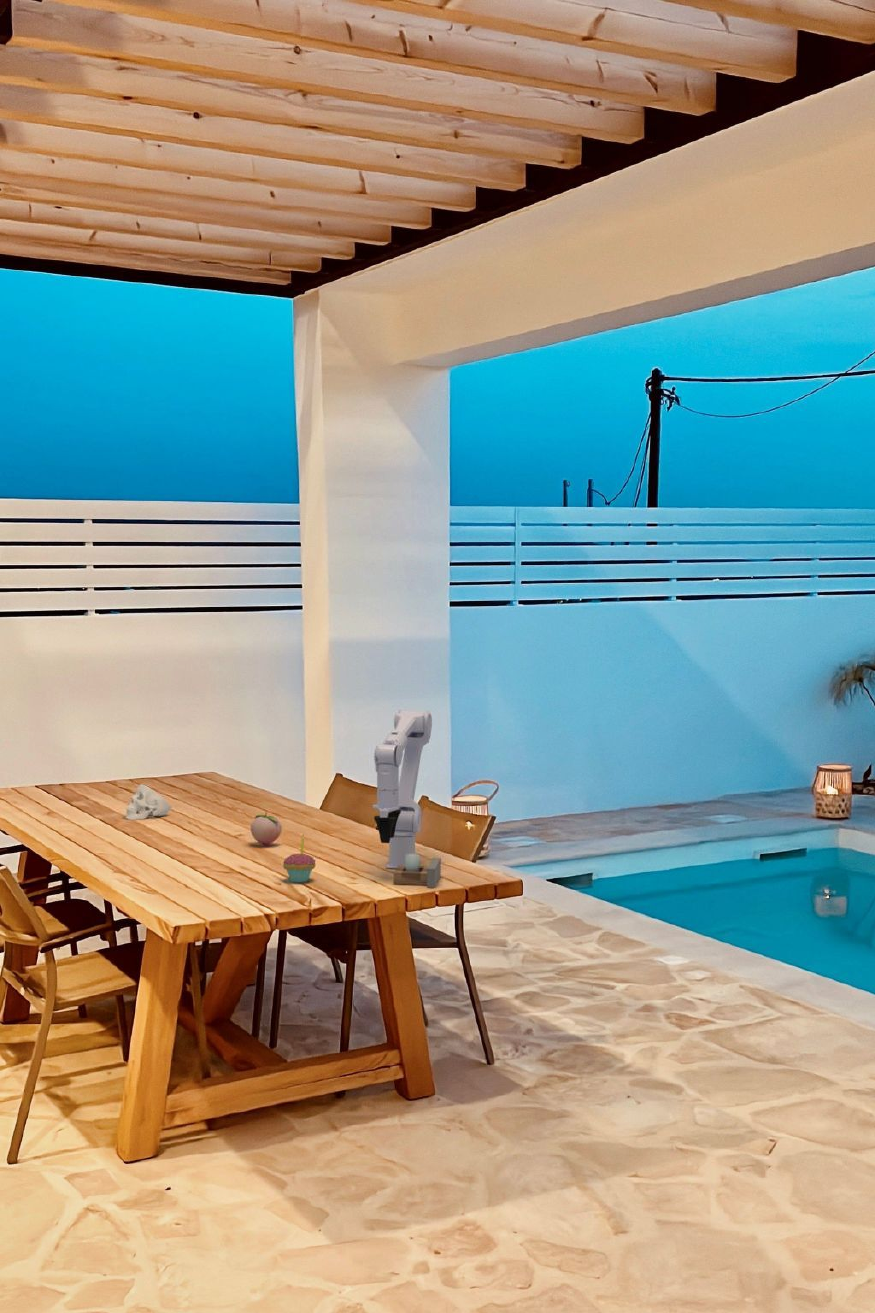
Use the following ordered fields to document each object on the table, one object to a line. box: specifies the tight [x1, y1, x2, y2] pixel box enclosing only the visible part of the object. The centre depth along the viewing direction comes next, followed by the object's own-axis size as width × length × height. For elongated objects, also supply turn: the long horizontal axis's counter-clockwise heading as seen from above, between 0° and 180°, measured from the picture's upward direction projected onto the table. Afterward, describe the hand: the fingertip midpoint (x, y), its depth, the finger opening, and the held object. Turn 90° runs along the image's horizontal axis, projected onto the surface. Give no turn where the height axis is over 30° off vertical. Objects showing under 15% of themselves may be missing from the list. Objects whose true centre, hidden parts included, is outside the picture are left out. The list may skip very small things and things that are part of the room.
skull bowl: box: [125, 783, 173, 821], centre depth 439 cm, size 10×14×12 cm
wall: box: [426, 857, 442, 889], centre depth 347 cm, size 14×2×5 cm, turn 174°
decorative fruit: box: [250, 812, 283, 846], centre depth 393 cm, size 9×8×10 cm
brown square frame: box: [393, 865, 429, 886], centre depth 348 cm, size 9×9×3 cm
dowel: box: [405, 853, 420, 872], centre depth 348 cm, size 4×4×7 cm
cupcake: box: [282, 834, 316, 884], centre depth 347 cm, size 9×8×12 cm
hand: (387, 840), depth 352 cm, fingers open, 7 cm apart
